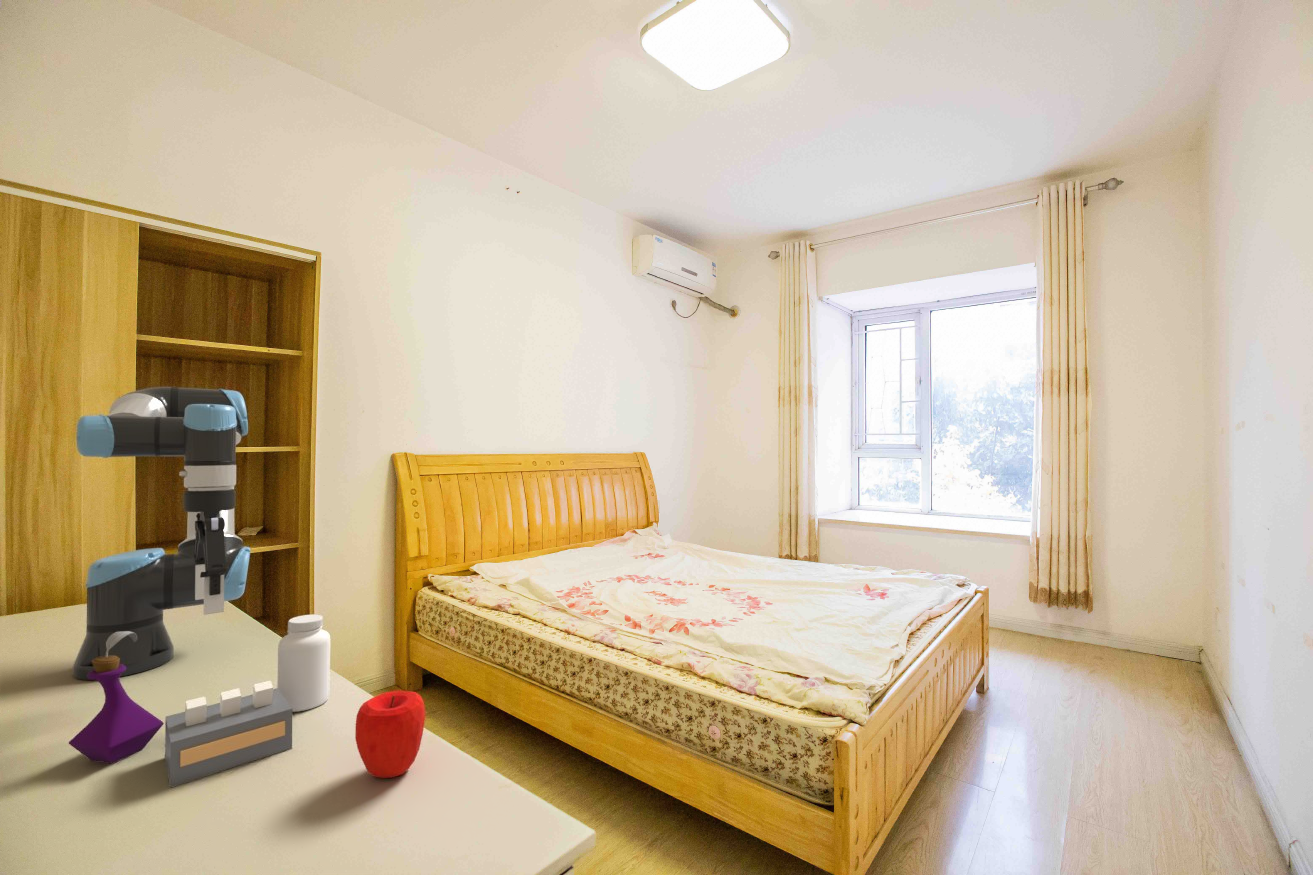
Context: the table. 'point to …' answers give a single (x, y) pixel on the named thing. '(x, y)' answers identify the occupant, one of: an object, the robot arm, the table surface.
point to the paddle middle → (230, 702)
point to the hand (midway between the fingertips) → (208, 605)
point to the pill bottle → (304, 663)
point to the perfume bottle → (115, 714)
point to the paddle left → (195, 711)
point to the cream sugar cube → (262, 694)
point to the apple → (390, 732)
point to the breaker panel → (226, 738)
